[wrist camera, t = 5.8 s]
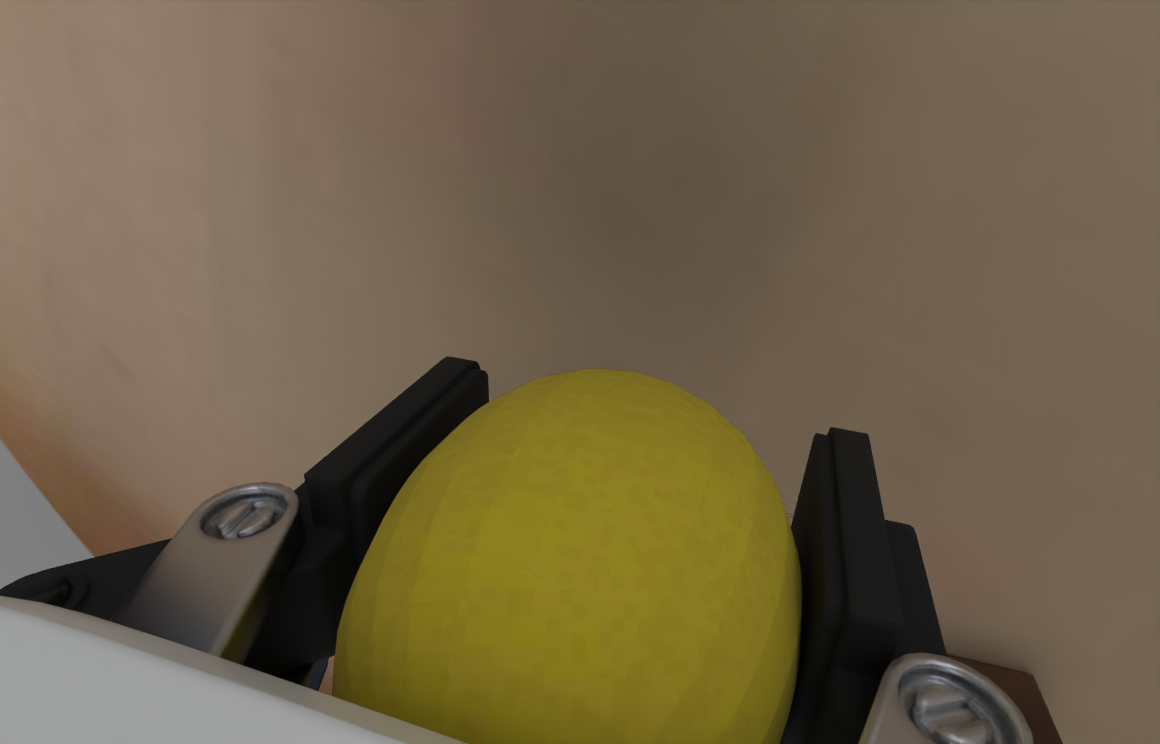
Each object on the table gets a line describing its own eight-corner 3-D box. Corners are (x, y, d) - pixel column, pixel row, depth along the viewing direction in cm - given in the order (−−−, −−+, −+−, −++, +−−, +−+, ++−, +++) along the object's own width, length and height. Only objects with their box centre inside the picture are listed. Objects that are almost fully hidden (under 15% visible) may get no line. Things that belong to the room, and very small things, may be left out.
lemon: (679, 596, 13) (553, 1159, 6) (467, 443, 13) (116, 846, 6) (873, 428, 10) (1017, 1113, 4) (605, 232, 10) (239, 553, 4)
